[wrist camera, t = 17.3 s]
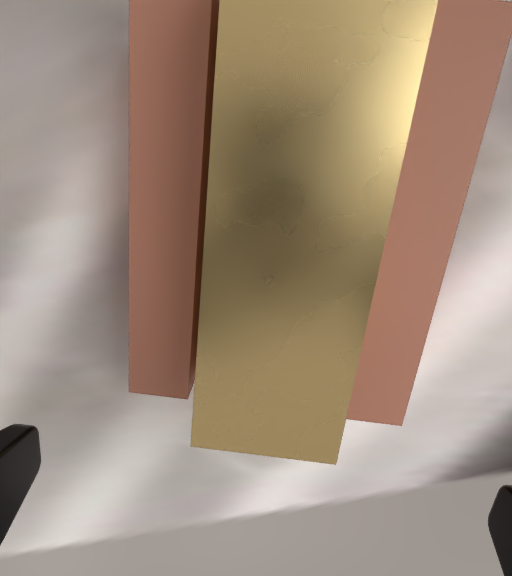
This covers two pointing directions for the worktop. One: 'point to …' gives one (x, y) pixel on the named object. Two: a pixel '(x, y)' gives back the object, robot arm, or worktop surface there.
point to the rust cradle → (194, 181)
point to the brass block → (298, 213)
